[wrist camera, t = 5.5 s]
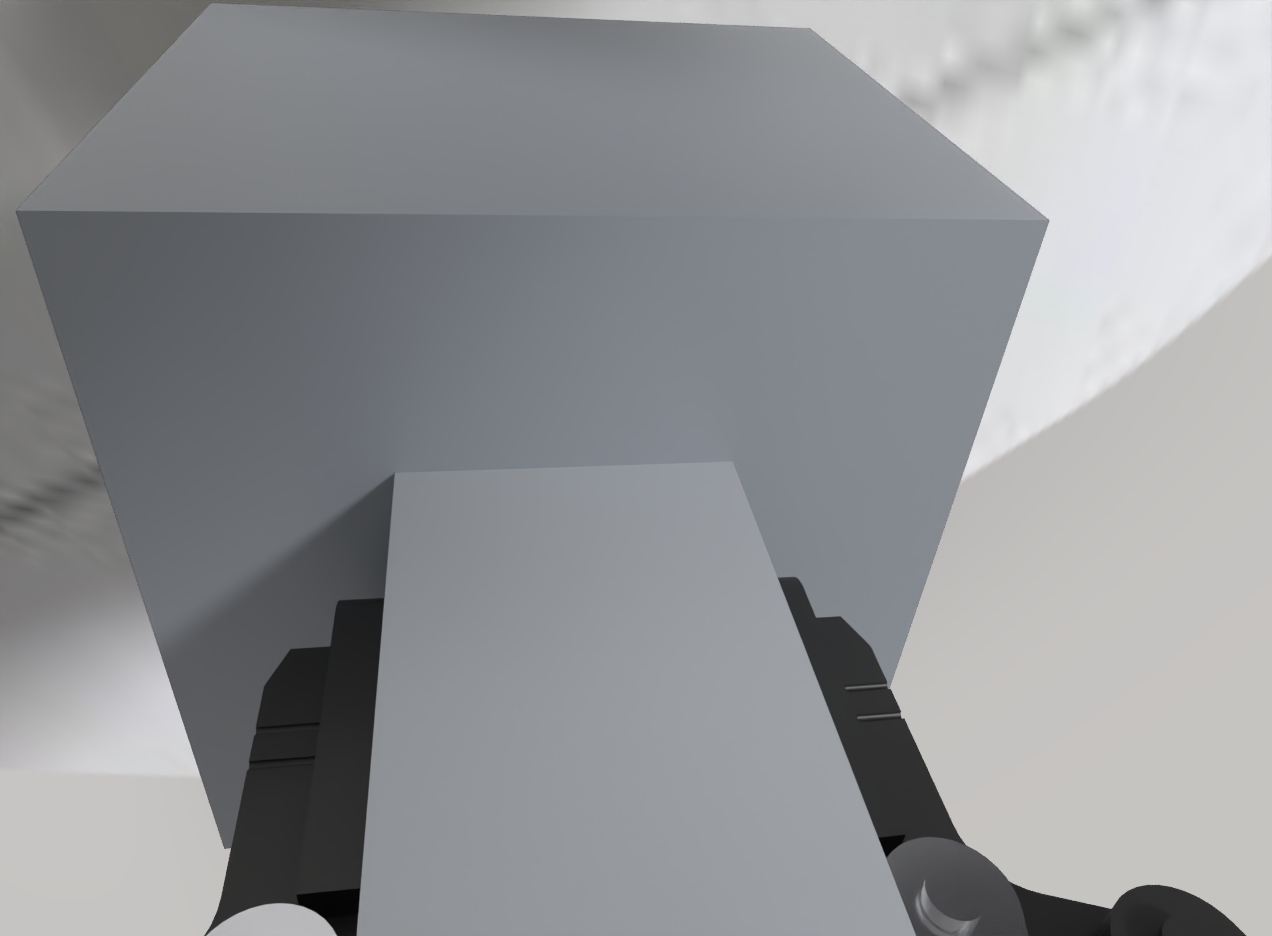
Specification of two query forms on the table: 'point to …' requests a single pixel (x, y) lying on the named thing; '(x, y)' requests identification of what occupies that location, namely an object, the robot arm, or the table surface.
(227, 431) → the grey stepped block
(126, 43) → the table surface
